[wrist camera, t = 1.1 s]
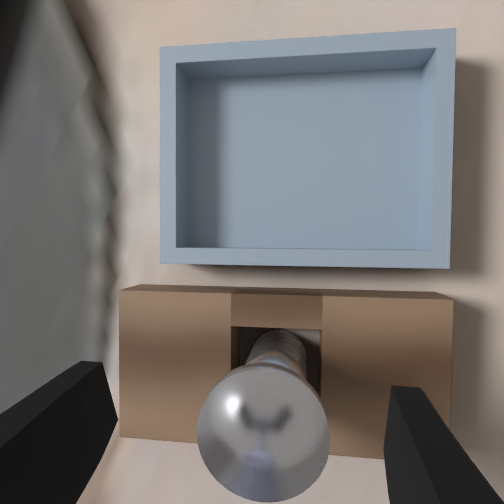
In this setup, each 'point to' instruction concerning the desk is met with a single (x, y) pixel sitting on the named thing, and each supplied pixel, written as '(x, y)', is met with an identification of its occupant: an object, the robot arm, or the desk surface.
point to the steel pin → (265, 424)
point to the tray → (309, 151)
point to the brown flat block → (281, 316)
